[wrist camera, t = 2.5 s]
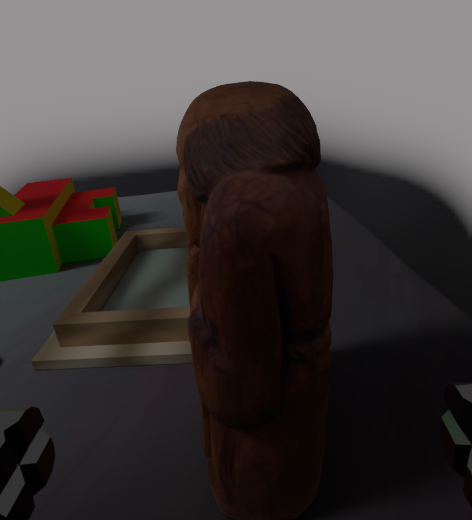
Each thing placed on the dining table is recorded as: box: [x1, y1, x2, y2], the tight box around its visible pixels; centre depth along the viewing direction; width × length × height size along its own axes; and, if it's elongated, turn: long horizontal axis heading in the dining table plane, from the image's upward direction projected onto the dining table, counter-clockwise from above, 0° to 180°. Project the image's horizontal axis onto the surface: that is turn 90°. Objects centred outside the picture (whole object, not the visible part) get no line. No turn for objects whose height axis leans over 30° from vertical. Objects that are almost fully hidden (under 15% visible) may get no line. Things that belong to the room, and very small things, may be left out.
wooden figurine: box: [176, 81, 333, 520], centre depth 20 cm, size 12×6×18 cm, turn 1°
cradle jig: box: [31, 227, 193, 370], centre depth 39 cm, size 16×22×3 cm
